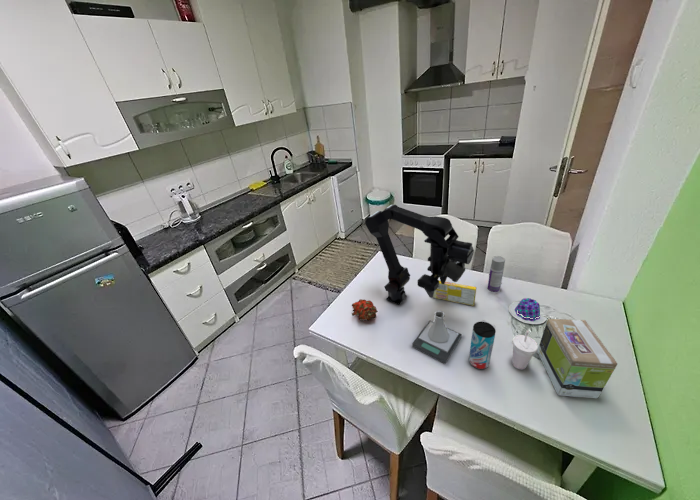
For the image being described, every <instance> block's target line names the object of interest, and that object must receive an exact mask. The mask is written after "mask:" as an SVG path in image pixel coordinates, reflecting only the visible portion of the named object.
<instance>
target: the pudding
mask: <svg viewBox="0 0 700 500" xmlns="http://www.w3.org/2000/svg"><path fill="white" fill-rule="evenodd" d="M540 307H541V306H540V303H539V302H538V301H537V300H535V299H534V298H533V299H532V298H530V297H527V298H526V297H524V298H522V299H521V300H517V301H513V302H512V303H510V304H509V306H508V311H509V313H510V315H511V316H512V317H513V318H515V319H516V320H518V321H520V322H522V323H524V324H528V325H540V324H543V323H545V322H547V320H548V317H547V318H545V317H541V315H540ZM517 310H518V313H519V314H522V315H523V316H524V317H530V318H533V319H530V318H524V317H522V316H521V315H519V314H517ZM539 316H540V317H539ZM536 317H539V318H536ZM535 318H536V319H535Z"/></svg>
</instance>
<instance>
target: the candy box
mask: <svg viewBox="0 0 700 500" xmlns="http://www.w3.org/2000/svg"><path fill="white" fill-rule="evenodd" d="M438 286H439V287H438V288H437V289H436V290H435V291H434V295H433V298H434V299H439V300H443V301H449V302H452V303H458V304H462V305H466V306H467V305H468V306H472V307H475V303H476V295H477V286H472V285H466V284H461V283H456V282H449V281H445V284H442V283H441V281H440V280H439V285H438ZM433 298H432V299H433Z"/></svg>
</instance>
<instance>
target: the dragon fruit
mask: <svg viewBox="0 0 700 500" xmlns="http://www.w3.org/2000/svg"><path fill="white" fill-rule="evenodd" d="M351 307H352V309H353V310H352V312H351V316H352V317H354V316H358V320H360V321H361V322H363V321H367V322H370V321H371V320H375V319H376V318H377V313H378V312H379V311H378V309H377V307H376V306H375V305H374V303H373V301H371V300H369V299H368V300H367V299H361V298H360V299H358V301H355V302H353V303H352V304H351Z"/></svg>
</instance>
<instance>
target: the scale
mask: <svg viewBox="0 0 700 500" xmlns="http://www.w3.org/2000/svg"><path fill="white" fill-rule="evenodd" d="M433 322H434V321H433V320H429V321H428V322H427V323H426V325H425V326H424V327H423V328H422V330H421V332H420V333H419V334H418V335H417V337H416V338H415V339H414V340H413V342H412V345H411V346H412V348H414V349H415V350H417V351H419V352H421V353H423V354H424V355H427V356H429V357H431V358H432V359H435V360H437V361H439V362H440V363H443V364H445V365H446V364H447V363H448V361H449V359H450V357H451V356H452V354H453V353H454V351H455V349H456V348H457V346H458V344H460V343H459V342H460V341H461V339H462V334H463V333H460V332H458V331H455V330H454V329H451V328H449V327H447V326H446V328H447V331H448V333H449V338H448V341H447V342H442V343H438V342H435V341H431V340H430V338H429V336H428V332H429V329H430V327H431V326H432V324H433Z"/></svg>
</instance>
